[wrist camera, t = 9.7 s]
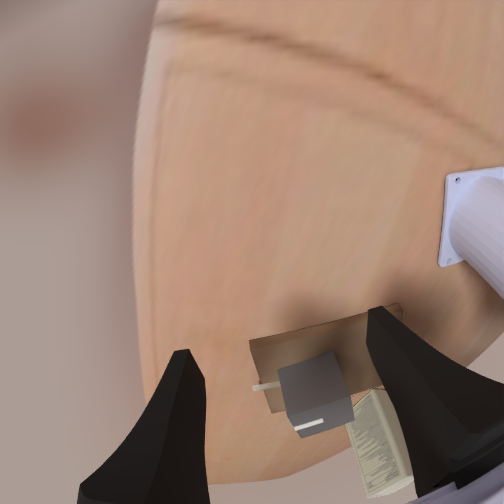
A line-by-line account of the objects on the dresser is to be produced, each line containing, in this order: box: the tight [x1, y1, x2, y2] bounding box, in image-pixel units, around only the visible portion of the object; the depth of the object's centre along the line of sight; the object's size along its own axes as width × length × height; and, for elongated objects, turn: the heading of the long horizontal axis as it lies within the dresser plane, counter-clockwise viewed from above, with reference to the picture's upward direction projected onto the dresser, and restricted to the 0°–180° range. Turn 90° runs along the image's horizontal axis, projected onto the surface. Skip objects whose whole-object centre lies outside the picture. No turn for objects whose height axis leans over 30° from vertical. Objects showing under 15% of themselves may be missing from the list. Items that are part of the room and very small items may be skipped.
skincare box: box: [345, 389, 414, 499], centre depth 27 cm, size 6×4×12 cm
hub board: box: [249, 303, 403, 413], centre depth 26 cm, size 14×11×4 cm
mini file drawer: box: [277, 351, 355, 438], centre depth 24 cm, size 5×5×5 cm
